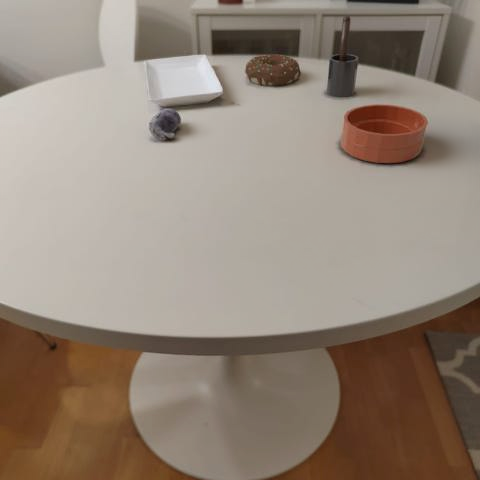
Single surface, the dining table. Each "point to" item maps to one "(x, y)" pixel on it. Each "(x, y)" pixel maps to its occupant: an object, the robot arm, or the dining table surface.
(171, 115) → the grey plush toy
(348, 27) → the stick
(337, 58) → the holder
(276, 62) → the donut
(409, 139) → the bowl
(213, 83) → the tray
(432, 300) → the dining table surface
